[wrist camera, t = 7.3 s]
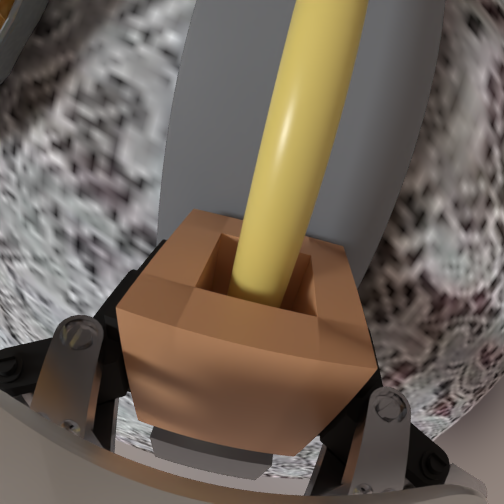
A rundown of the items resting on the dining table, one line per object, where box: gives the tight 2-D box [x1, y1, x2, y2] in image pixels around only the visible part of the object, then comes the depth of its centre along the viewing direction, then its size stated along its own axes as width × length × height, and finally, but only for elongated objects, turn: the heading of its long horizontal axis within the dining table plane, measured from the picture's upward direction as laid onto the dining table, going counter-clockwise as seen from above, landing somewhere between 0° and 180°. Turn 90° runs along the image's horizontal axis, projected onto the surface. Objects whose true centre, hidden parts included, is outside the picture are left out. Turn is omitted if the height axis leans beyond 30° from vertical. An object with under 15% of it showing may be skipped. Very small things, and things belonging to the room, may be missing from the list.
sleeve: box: [116, 209, 378, 456], centre depth 8 cm, size 5×5×5 cm
